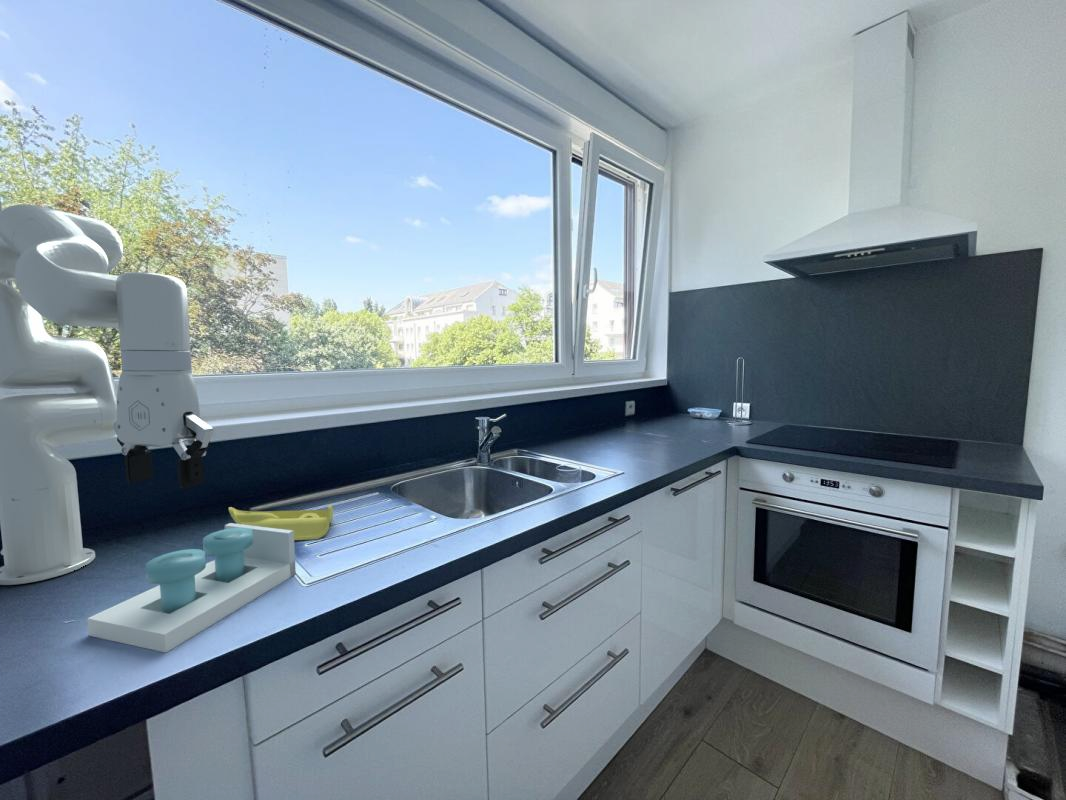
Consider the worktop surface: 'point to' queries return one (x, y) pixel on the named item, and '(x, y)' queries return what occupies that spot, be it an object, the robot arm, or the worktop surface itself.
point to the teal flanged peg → (228, 551)
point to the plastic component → (289, 521)
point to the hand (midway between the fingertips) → (165, 482)
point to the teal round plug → (176, 577)
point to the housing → (200, 597)
